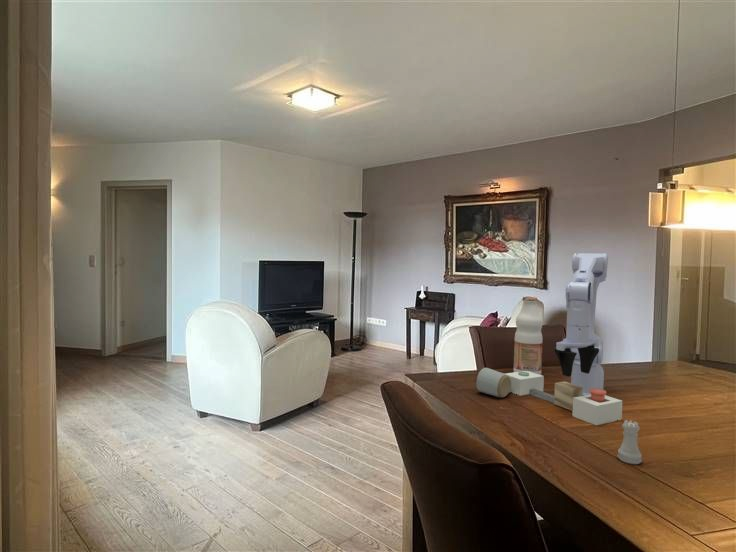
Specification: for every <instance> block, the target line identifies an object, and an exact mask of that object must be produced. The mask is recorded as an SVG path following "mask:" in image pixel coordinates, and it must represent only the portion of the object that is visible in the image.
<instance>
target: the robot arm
mask: <svg viewBox="0 0 736 552" xmlns="http://www.w3.org/2000/svg"><path fill="white" fill-rule="evenodd" d="M571 261H572V262H571V268H572V273H573V275H572V278H571V281H570V282H569V283H566V286H565V302H566V304H565V305H566V309H567V310H566V334H565V336H566V337H565V338H563V339H562V340H561V341H558V342H556V346H555V347H554V353H555V355H556V357H557V358H558V361H559V364H560V368H561V372H562V375H563V376H565V377H570V383H571V384H574V385H578V386H581V387H583V396H585V395H590V394H591V393H590V392H589V389H591V388H597V389H602V390H604V381H605V379H604V378H605V371H604V368H603V367H602V365H601V364H602V363H603V357H604V341H603V339H602V338H601V337H599V335H597V334H596V333H595V325H596V324H595V321H596V308H597V295H598V294H597V292H598V288H599V286H600V283H603V282H605V281H606V278H607V277H608V275H607V273H608V268H609V267H608V265H609V263H608V262H609V256H608V254H607V253H606V252H603V253H590V252H589V253H583V252H581V253H580V252H575V253H574V254H572V260H571Z"/></svg>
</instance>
